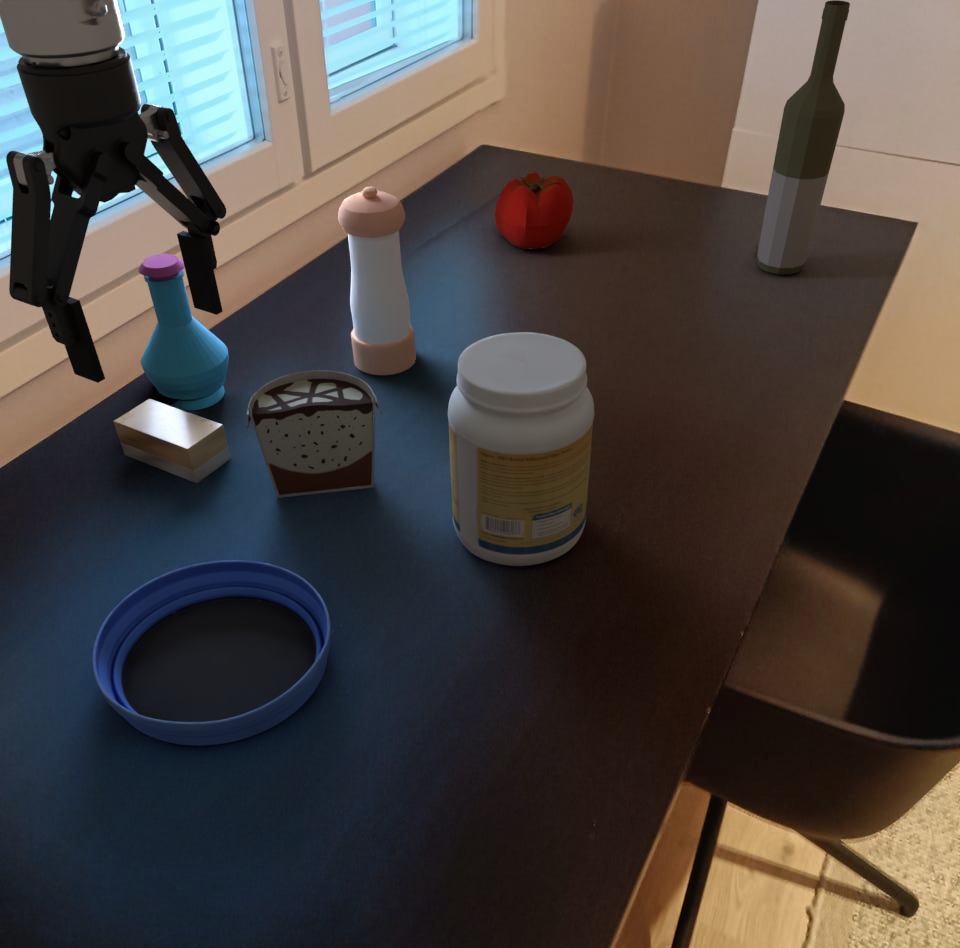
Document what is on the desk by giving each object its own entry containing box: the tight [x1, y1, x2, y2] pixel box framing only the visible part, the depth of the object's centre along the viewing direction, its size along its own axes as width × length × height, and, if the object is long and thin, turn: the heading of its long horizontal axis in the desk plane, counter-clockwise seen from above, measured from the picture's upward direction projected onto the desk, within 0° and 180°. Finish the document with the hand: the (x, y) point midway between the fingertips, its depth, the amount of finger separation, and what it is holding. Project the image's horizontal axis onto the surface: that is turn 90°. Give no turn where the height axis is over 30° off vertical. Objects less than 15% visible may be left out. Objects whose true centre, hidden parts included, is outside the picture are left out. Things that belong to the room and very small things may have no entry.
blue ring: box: [91, 559, 333, 747], centre depth 72 cm, size 18×18×4 cm
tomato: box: [494, 171, 574, 249], centre depth 128 cm, size 11×11×9 cm
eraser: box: [112, 398, 232, 484], centre depth 93 cm, size 10×5×4 cm, turn 59°
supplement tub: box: [447, 331, 595, 567], centre depth 80 cm, size 12×12×17 cm
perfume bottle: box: [137, 253, 230, 412], centre depth 98 cm, size 9×9×15 cm
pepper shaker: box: [337, 186, 417, 376], centre depth 101 cm, size 7×7×19 cm
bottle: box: [756, 0, 851, 275], centre depth 114 cm, size 7×7×30 cm
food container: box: [245, 369, 383, 499], centre depth 89 cm, size 12×6×10 cm, turn 100°
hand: (152, 341), depth 78 cm, fingers open, 13 cm apart
